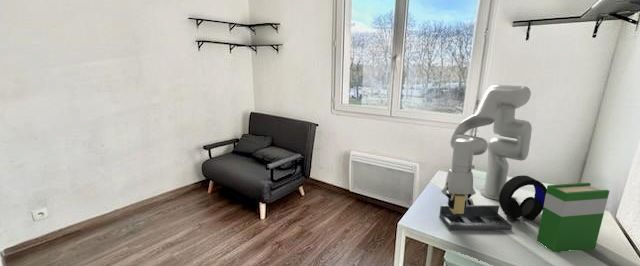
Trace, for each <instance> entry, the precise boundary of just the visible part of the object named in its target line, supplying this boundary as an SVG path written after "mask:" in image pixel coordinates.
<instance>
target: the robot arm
mask: <svg viewBox="0 0 640 266" xmlns="http://www.w3.org/2000/svg"><path fill="white" fill-rule="evenodd" d="M531 94H532V93H531V89H530V88H529V87H528V86H525V85H523V86H522V85H508V84H507V85H506V84H505V85H504V84H495V85H491V86H489V87H488V89H487V90H486V91H485V92H484V94H483V96H482V97H481V100H480V101H479V104H478V106H477V108H476V110H475V112H474V113H473V114H472V115H471V116H469V117H467V118H465V119H464V120H462V121H461V122H460V123H458V124H457V126H456V127H455V130H454V132H453V133H452V136H451V139H450V147H451V148H452V149H453V151H452V152H453V153H452V161H451V168H449V169H448V171H447V173H446V174H447V175H446V179H445V184H444V187H443V188H442V190H440V192H441V193H442V194H443V195H445V196H446V197H447V198H448V201H447V205H448V206H449V207H450V208H451V209H453V204H454V201H453V198H454V195H455V194H464V195H465V196H466V199H465V206H466V201H467V200H468V198H472V196H473V195H475V194H476V190H475V189H474V176H473V171H472V170H473V169H475V167H476V166H475V165H473V160H474V156H480V155H483V154H485V153H486V152H487V153H488V155H487V166H486V173H485V180H484V187H483V188H481V189H480V194H481V195H482V196H484V197H485V198H487V199H490V200H495V201H499V195H500V191H501V189H502V187H503V186H504V184H505V183H506V182H507V181H508V172H509V169H510V168H509V167H510V166H509V162H508V160H507V159H509V160H510V159H511V160H514V161H520V162H521V161H526V159H527V158H528V156H529V151H530V146H531V145H530V144H531V139H532V130H533V128H532V124H531V122H530V121H527V120H524V119H519V118H518V119H517V118H516V117H515V115H516V109H519V108H520V107H523V106H525V105H526V104H527V103H528V102H529V100H530V98H531V96H532V95H531ZM490 125H493V127H492V129H493V133H494V135H496V136H500V137H493V138H491V139H489V141H488V142H487V140H486V138H482V137H479V136H475V135H474V136H473V135H470V134H469V135H468V134H466V133H467V132H469V131H470V130H472V129H476V128H477V129H478V128H479V127H480V128H481V127H485V126H486V127H487V126H490ZM502 137H504V138H502ZM509 138H510V139H509ZM514 139H515V140H514ZM464 209H465V207H464Z"/></svg>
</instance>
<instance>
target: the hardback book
mask: <svg viewBox="0 0 640 266" xmlns="http://www.w3.org/2000/svg"><path fill="white" fill-rule="evenodd" d="M546 189H547V191H546V196H545V201H544V207H543V210H542V212H541V218H540V223H539V228H538V233H537V237H536V242H537V241H538V243H539V242H540V243H542V244H543V245H544V247H545V246H546V247H547V248H546V247H545V248H546V249H547V250H549V249H550V250H551V251H550V250H549V251H550V252H552V253H553V252H554V254H556V253H555V252H557V253H562V252H561V251H568V252H570V251H569V250H578V251H585V250H587V251H588V250H595V249H596V245H597V242H598V239H599V235H600V231H601V227H602V222H603V220H604V219H603V218H604V215H605V211H606V206H607V202H608V198H609V194H610V189H609V190H608V189H599V188H597V187H595V186H592V185H591V183H590V182H580V183H579V182H578V183H576V182H575V183H562V184H548V185H547V186H546ZM540 243H539V244H540ZM542 244H541V245H542ZM543 245H542V246H543Z"/></svg>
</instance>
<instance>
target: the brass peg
mask: <svg viewBox="0 0 640 266" xmlns="http://www.w3.org/2000/svg"><path fill="white" fill-rule="evenodd" d="M465 199H466V196H465V195H464V194H455V195H454V198H453V201H454V204H453V209H451V208H450V207H449V209H450V210H451V212H452V213H453V214H464V207H465Z"/></svg>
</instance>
